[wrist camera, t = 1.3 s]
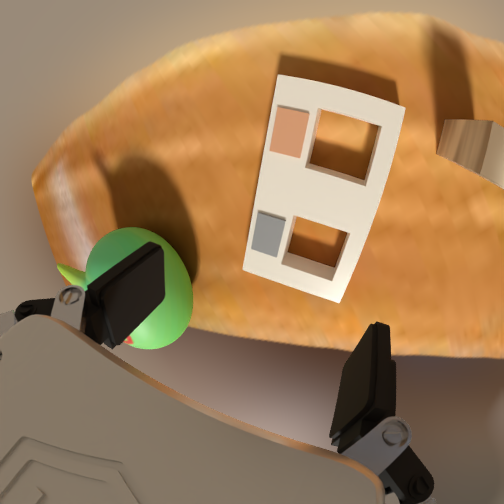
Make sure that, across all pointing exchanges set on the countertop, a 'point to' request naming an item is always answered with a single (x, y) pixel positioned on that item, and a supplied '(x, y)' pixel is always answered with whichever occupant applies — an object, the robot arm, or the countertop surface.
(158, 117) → the countertop surface
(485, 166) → the maple peg
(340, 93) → the socket block
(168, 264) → the toy bird
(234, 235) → the countertop surface
